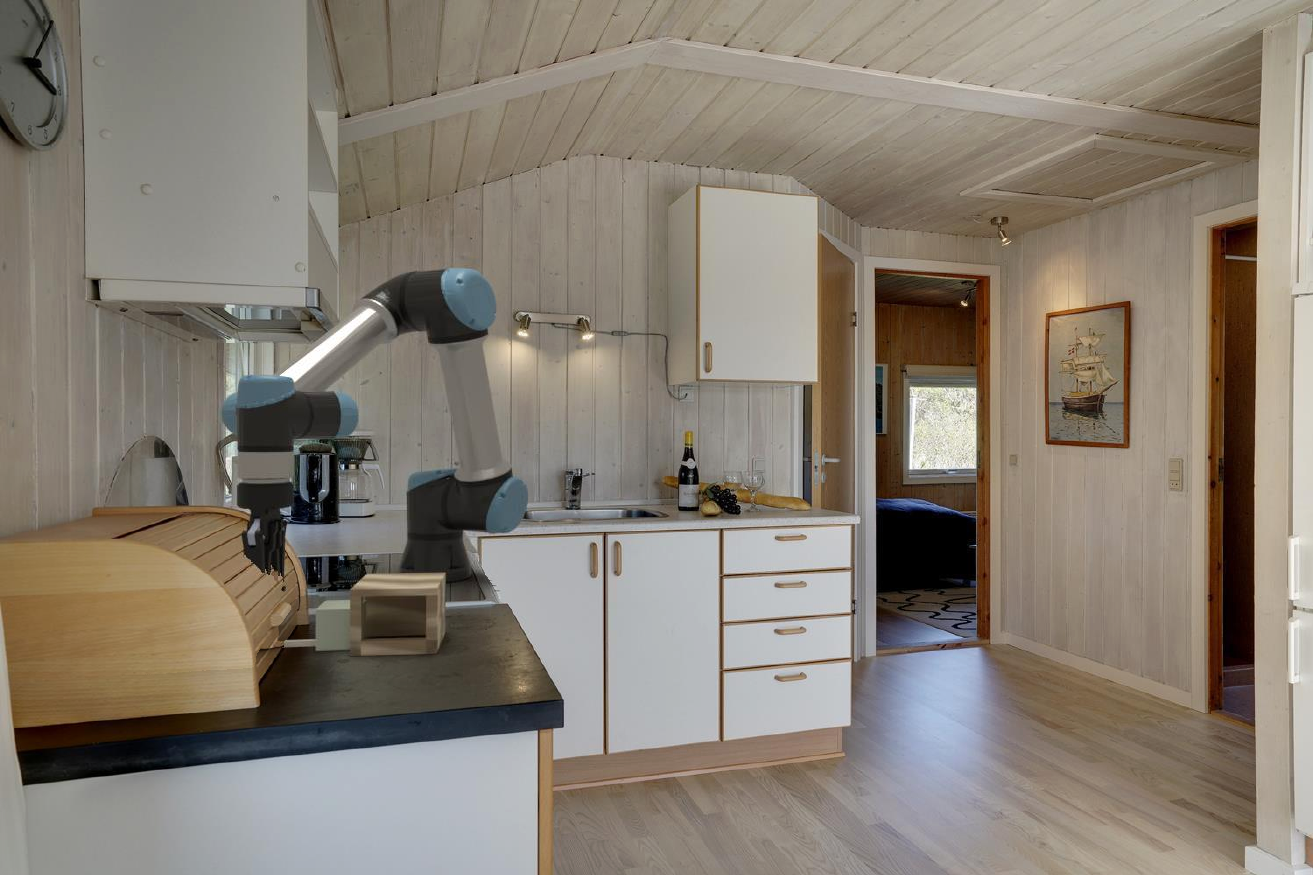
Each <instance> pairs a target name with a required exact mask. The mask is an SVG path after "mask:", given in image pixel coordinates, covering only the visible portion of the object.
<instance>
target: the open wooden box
mask: <svg viewBox="0 0 1313 875" xmlns="http://www.w3.org/2000/svg"><path fill="white" fill-rule="evenodd" d="M446 585H447V582H446V573H398V572H397V573H395V572H394V573H391V572H389V573H366V574H365V575H364V576H363V577H362V578H361V579H360V580H358V581H357V583H356V584H354V585H353V586H352V587H351V588H350V591H349V596H350V597H349V600H350V650H349V657H360V656H361V657H363V656H364V657H365V656H371V657H372V656H398V655H399V656H402V655H403V656H404V655H430V654H431V655H433V654H434V655H436V654H438V652H439V649H440V646H441V644H442V641H443V639H444V636H445V634H446V598H447V596H446V595H447V594H446V592H447V591H446V590H447V589H446V587H447V586H446ZM363 600H366V639H363ZM406 636H407V637H406ZM408 636H409V637H408ZM410 636H412V637H410ZM413 636H425V637H413ZM368 637H370V638H368ZM371 637H394V638H371Z"/></svg>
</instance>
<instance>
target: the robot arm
mask: <svg viewBox="0 0 1313 875" xmlns="http://www.w3.org/2000/svg"><path fill="white" fill-rule="evenodd" d="M496 313H497V299H496V295H495V293H494V290H493V287H492V286H491V284H490V282H489V281H488V280H487V278H486V277H484V276H483V275H482V273H481V272H479V271H478V270H475V269H472V268H462V267H461V268H459V267H450V268H442V269H431V270H429V269H428V270H420V271H417V270H415V271H414V270H413V271H408V272H404V273H401V274H398V275H395V276H393V277H392V278H390V279H388V280H386V281H384V282H383V283H381V284H380V285H378V286H376V287H375V288H373V289H372V290H371V291H369V292H368V293H366V294H365V295H364V296H362V297H361V298H360V299H359V300H357V301H356V302H355V303H354V305H353V307H352V312H351V313H350V314H349V315H347V316H346V317H345V318H343V319H342V320H341V321H339V323H337V324H336V325H335V326H334V327H332V328H331V329H330V330H328V331H327V332H325V334H323V335H322V336H320V337H319V338H318V339H317V340H315V341H314V342H313V343H312V344H310V345H309V346H308V347H307V348H305V349H304V350H302V351H301V352H300V353H299V354H297V355H296V356H294V358H292V359H291V360H290V361H288V362H287V363H286V364H285V365H283V366H282V367H281V368H279V369H278V370H277V371H276V372H275V373H273V374H245V375H243V376H242V377H241V378H239V380H238V385H237V392H233V393H231V394H229V396H227V397H226V398H225V400H224V401H223V404H222V406H221V411H220V415H221V419H222V422H223V424H224V427H225V428H226V429H227V430H228V431H229V433H231V434H233V435H235V436H236V438H237V439H236V441H237V442H236V443H237V444H236V446H237V447H236V448H237V456H236V457H234V458H233V464H235V465H236V466H237V470H236V472H237V478H238V479H239V480H241V482H238V484H237V485H236V506H237V507H238V508H239V509H243V510H249V511H250V514H249V521H247V524H246V530H242V532H241V535H240V536H241V541H242V547H243V556H244V555H246V557H247V558H248V559H250V560H251V562H253V564H255V565H256V566H257V567H258V568H259V569H260V570H261V572H262V573H265V569H266V571H267V574H268V575H270V573H271V565H272V567H273V569H274V571H278V576H280V573H281V576H282V577H283V578H284V579H283V582H284V583H285V565H286V564H285V563H286V562H285V557H286V536H287V535H286V533H287V527H288V521H287V519H282V514H281V510H282V509H287V508H290V507H293V505H294V501H295V500H294V495H295V494H294V493H295V492H294V491H295V488H294V485H295V484H294V483H293V482H292V481H290V480H291V479H293V478H294V476H295V456H294V455H295V440H332V441H334V440H335V439H344V438H347V437H349V436H350V435H352V434H353V433H354V431H355V430H356V428H357V426H358V423H359V417H360V416H359V408H358V405H357V402H356V401H355V400H354V398H352V397H351V396H350V395H349V394H347V393H344V392H336V391H334V390H330V391H327V390H328V389H329V388H330V387H331V386H332V385H334V384H335V383H336V382H337V381H339V379H341V378H342V377H343V376H345V375H346V374H347V373H348V372H349V371H350V370H351V369H353V368H354V367H355V366H356V365H357V364H359V363H360V362H361V361H362V360H363V359H365V357H366V356H368V355H369V354H370V353H372V352H373V351H374V350H375V349H376V348H377V347H379V346H380V345H385V344H390V343H391V342H392V341H394V340H395V339H396V338H398V337H399V336H401V335H405V334H409V333H414V332H426V337H427V342H428V345H429V346H431V347H432V348H433V349H435V350H436V351H437V352H438V357H439V362H440V368H441V373H442V377H443V379H442V380H443V383H444V388H445V393H446V399H447V404H448V409H449V414H450V419H451V424H452V429H453V430H452V431H453V434H454V440H455V446H456V451H457V456H458V460H459V467H453V468H443V469H442V468H441V469H434V470H433V469H431V470H423V471H417V472H413V473H411V474H410V475H409V477H408V478H407V488H406V544H405V547H404V550H403V552H402V555H401V558H400V561H399V564H398V568H397V569H398V570H397V573H446V583H451V582H458V581H462V580H465V579H468V578H470V577H471V576H472V564H471V562H470V561H471V560H470V558H469V554H468V552H467V549H466V546H465V542H464V532H465V531H467V532H479V533H488V534H491V535H495V534H509V533H511V532H512V531H514V530H516V529H517V528H518V527H519V525H520V524H521V522H522V521H523V519H524V517H525V514H526V511H527V507H528V503H529V490H528V486H527V484H526V482H525V481H524V480H523V479H522V478H520V477H518V476H514V473H513V467H512V465H511V462H509V461H507V460H506V459H505V458H504V457H503V453H502V447H501V442H500V437H499V431H498V425H497V421H496V415H495V408H494V403H493V402H494V401H493V398H492V391H491V385H490V381H489V374H488V369H487V368H488V367H487V363H486V357H485V351H484V346H483V345H484V343H485V341H486V339H488V337H489V335H490V334H489V328H490V327H491V326H492V325H493V324H494V322H495V320H496V315H495V314H496ZM282 586H283V587H282V589H281V590H282V591H283V592H286V589H287V586H286V585H282Z"/></svg>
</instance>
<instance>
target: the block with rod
mask: <svg viewBox="0 0 1313 875" xmlns="http://www.w3.org/2000/svg"><path fill="white" fill-rule="evenodd" d="M271 575H272V576H274V580H275V581H276V582H277V583H278V571H273V572H272V573H271ZM363 639H367V637H366V600H365V599H363ZM284 640H285V639H284ZM300 647H302V648H305V647H315V652H319V651H320V652H323V651H326V652H327V651H350V599H344V600H343V599H339V600H336V599H335V600H334V599H333V600H332V599H331V600H324V601H323V602H322V603H321V604H320V605H319V606H318V607H317V608H315V638H313V639H312V638H311V639H310V638H309V639H286V640H285V641H284V647H283V648H300Z"/></svg>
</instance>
